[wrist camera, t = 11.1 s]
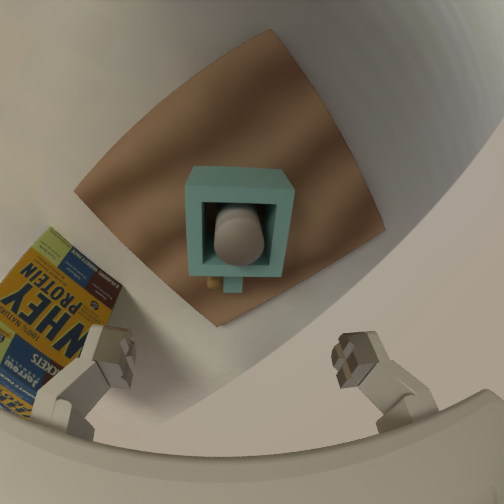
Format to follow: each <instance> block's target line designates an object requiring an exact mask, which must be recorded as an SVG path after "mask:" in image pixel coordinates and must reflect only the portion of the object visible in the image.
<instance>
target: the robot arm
mask: <svg viewBox="0 0 504 504" xmlns="http://www.w3.org/2000/svg"><path fill="white" fill-rule="evenodd" d="M131 338H132V333H131V330H130V329H123V328H116V327H110V326H104V325H97V324H93V325H92V326H91V327H90V330H89V332H88V335H87V338H86V341H85V344H84V346H83V349H82V352H81V355H80V358H75V359H74V360H73V361H72V362H71V363H69V364H68V365H67V366H66V367H65V368H64V369H62V370H61V371H60V372H59V373H58V374H56V375H55V376H54V377H53V378H52V379H51V380H50V381H48V382H47V383H46V384H45V385H44V386H43V387H41V388H40V389H39V390H38V391H37V395H36V398H35V401H34V405H33V408H32V412H31V415H30V419H29V420H27V419H25V418H23V417H20V416H18V415H16V414H14V413H12V412H9V411H7V410H5V409H3V408H1V407H0V504H504V400H502V399H501V398H500V397H499V396H498V395H496V394H495V393H494V392H492V391H490V390H488V389H483V390H481V391H479V392H477V393H475V394H474V395H472V396H470V397H468V398H466V399H464V400H462V401H460V402H458V403H457V404H454V405H452V406H450V407H448V408H446V409H444V410H441V411H439V410H438V407H437V405H436V403H435V400H434V398H433V396H432V394H431V392H430V389H429V388H428V387H427V386H425V385H424V384H423V383H422V382H420V381H419V380H418V379H416V378H415V377H414V376H413V375H411V374H410V373H409V372H407V371H406V370H405V369H404V368H402V367H401V366H400V365H398V364H397V363H396V362H394V361H393V360H389V357H388V355H387V353H386V351H385V349H384V347H383V345H382V343H381V341H380V339H379V337H378V334H377V333H376V332H375V331H367V332H354V333H343V334H342V335H340V337H339V343H338V344H337V345H335V346H334V348H333V350H332V355H331V358H332V363H333V367H334V368H336V369H337V370H338V373H337V375H336V376H337V379H338V382H339V385H340V388H348V387H356V386H358V388H359V389H360V390H361V391H362V392H363V393H364V394H365V395H366V396H367V397H368V398H369V399H370V400H371V401H372V403H373V404H374V405H375V406H376V407H377V408H378V409H379V410H380V411H381V412H382V413H383V414H384V415H383V416H382V417H381V418H380V419H379V420H377V422H376V426H377V429H378V432H379V434H377V435H373V436H370V437H366V438H363V439H359V440H355V441H351V442H346V443H342V444H338V445H333V446H328V447H323V448H317V449H311V450H305V451H298V452H291V453H283V454H273V455H261V456H242V457H199V456H182V455H169V454H160V453H152V452H145V451H138V450H132V449H126V448H121V447H116V446H111V445H107V444H102V443H98V442H94V441H93V437H94V430H95V429H94V428H93V426H92V425H91V424H90V423H89V422H88V421H87V420H86V419H85V416H86V415H87V414H88V413H89V412H90V411H91V409H92V408H93V407H94V406H95V405H96V404H97V402H98V401H99V400H100V399H101V398H102V397H103V395H104V394H105V393H106V392H107V391H108V390H109V388H110V387H117V388H124V389H130V387H131V381H132V376H133V374H132V372H131V368H132V367H133V366H134V365H135V359H136V348H135V343H134V342H133V341H132V340H131ZM109 386H110V387H109Z"/></svg>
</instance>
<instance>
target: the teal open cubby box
mask: <svg viewBox="0 0 504 504" xmlns="http://www.w3.org/2000/svg"><path fill="white" fill-rule="evenodd" d="M294 194H295V189H294V188H293V186H292V185H291V183H290V181H289V180H288V178H287V177H286V175H285V174H284V172H283V171H282V169H268V168H250V167H225V166H193V169H192V171H191V173H190V175H189V178H188V180H187V182H186V184H185V214H186V237H187V254H188V269H189V276H224V289H223V293H242V285H243V277H281V275H282V270H283V264H284V258H285V252H286V246H287V240H288V233H289V227H290V221H291V214H292V208H293V201H294ZM207 202H230V203H258V204H265V209H264V218H263V228H262V234H263V238H264V249H263V252H262V254H261V255H260V257H259V258H258V259H257V260H256V261H254V262H252V263H251V264H248V265H244V266H233V265H229V264H227V263H225V262H223V261H222V260H221V259H220V258H219V257H218V256H217V254H216V252H215V249H214V239H215V232H207V229H206V205H207Z"/></svg>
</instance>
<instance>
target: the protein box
mask: <svg viewBox="0 0 504 504" xmlns="http://www.w3.org/2000/svg"><path fill="white" fill-rule="evenodd" d="M121 288H122V285H121V284H120V283H118V282H117V281H115V280H114V279H113V278H111V277H110V276H109V275H107V274H106V273H105V272H104V271H102V270H101V269H100V268H98V267H97V266H96V265H95V264H94V263H92V262H91V261H90V260H89V259H87V258H86V257H85V256H84V255H83V254H81V253H80V252H79V251H78V250H77V249H75V248H74V247H73V246H72V245H71V244H69V243H68V242H67V241H66V240H65V239H64V238H63V237H61V236H60V235H59V234H58V233H57V232H56V231H55V230H54V229H53V228H51V227H49V228H48V229H47V230H46V231H45V232H44V233H43V234H42V235H41V236H40V237H39V238H38V240H37V241H36V242H35V243H34V244H33V245H32V246H31V247H30V248H29V249H28V251H27V252H26V253H25V254H24V255H23V256H22V257H21V259H20V260H19V261H18V262H17V263H16V265H15V266H14V267H13V268H12V269H11V271H10V272H9V273H8V274H7V276H6V277H5V278H4V280H3V281H2V282H1V284H0V406H1V407H2V408H3V409H5V410H7V411H9V412H12V413H14V414H16V415H18V416H20V417H23V418H25V419H27V420H29V419H30V415H31V412H32V408H33V405H34V401H35V398H36V395H37V391H38V390H39V389H40V388H41V387H43V386H44V385H45V384H46V383H47V382H48V381H50V380H51V379H52V378H53V377H54V376H55V375H56V374H58V373H59V372H60V371H61V370H62V369H64V368H65V367H66V366H67V365H68V364H69V363H71V362H72V361H73V360H74V359H75V358H80V355H81V352H82V349H83V346H84V344H85V341H86V338H87V335H88V332H89V330H90V327H91V326H92V325H93V324H97V325H104V326H107V324H108V322H109V319H110V316H111V314H112V311H113V308H114V305H115V303H116V300H117V298H118V296H119V293H120V291H121Z"/></svg>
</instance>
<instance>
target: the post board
mask: <svg viewBox="0 0 504 504" xmlns="http://www.w3.org/2000/svg"><path fill="white" fill-rule="evenodd" d="M193 166H225V167H250V168H268V169H282V171H283V172H284V174H285V175H286V177H287V178H288V180H289V181H290V183H291V185H292V186H293V188H294V189H295V194H294V201H293V208H292V214H291V221H290V227H289V233H288V240H287V246H286V252H285V258H284V264H283V270H282V275H281V277H243V285H242V293H223V289H224V276H189V269H188V254H187V237H186V214H185V184H186V182H187V180H188V178H189V175H190V173H191V171H192V169H193ZM74 192H75V193H76V194H77V195H78V196H79V198H80V199H81V200H82V201H83V202H84V203H85V204H86V205H87V206H88V207H89V208H90V210H91V211H92V212H93V213H94V214H95V215H96V216H97V217H98V218H99V219H100V220H101V221H102V222H103V223H104V224H105V225H106V226H107V227H108V228H109V229H110V230H111V231H112V232H113V233H114V235H115V236H116V237H117V238H118V239H119V240H120V241H121V242H122V243H123V244H125V245H126V246H127V247H128V248H129V249H130V250H131V251H132V252H133V253H134V254H135V255H136V256H137V257H138V258H139V259H140V260H141V261H142V262H143V263H144V264H145V265H146V266H147V267H148V268H150V269H151V270H152V271H153V272H154V273H155V274H156V275H157V276H158V277H159V278H160V279H161V280H163V281H164V282H165V283H166V284H167V285H168V286H169V287H170V288H171V289H173V290H174V291H175V292H176V293H177V294H178V295H179V296H181V297H182V298H183V299H184V300H185V301H186V302H187V303H189V304H190V305H191V306H192V307H193V308H195V309H196V310H197V311H198V312H199V313H200V314H202V315H203V316H204V317H205V318H206V319H208V320H209V321H210V322H211V323H213V324H214V325H215V326H216V327H219V326H221V325H223V324H225V323H227V322H228V321H230V320H232V319H234V318H236V317H238V316H240V315H242V314H243V313H245V312H247V311H249V310H251V309H253V308H255V307H256V306H258V305H260V304H262V303H264V302H266V301H267V300H269V299H271V298H273V297H275V296H276V295H278V294H280V293H282V292H283V291H285V290H287V289H289V288H290V287H292V286H294V285H296V284H297V283H299V282H301V281H303V280H304V279H306V278H308V277H310V276H311V275H313V274H315V273H316V272H318V271H320V270H321V269H323V268H325V267H326V266H328V265H330V264H331V263H333V262H335V261H336V260H338V259H340V258H341V257H343V256H345V255H346V254H348V253H349V252H351V251H353V250H354V249H356V248H358V247H359V246H361V245H362V244H364V243H366V242H367V241H369V240H370V239H372V238H373V237H375V236H377V235H378V234H380V233H381V232H383V231H384V230H386V229H385V226H384V224H383V221H382V219H381V217H380V214H379V212H378V209H377V207H376V205H375V202H374V200H373V198H372V195H371V193H370V191H369V189H368V187H367V184H366V182H365V180H364V178H363V176H362V174H361V172H360V170H359V167H358V165H357V163H356V161H355V159H354V157H353V156H352V154H351V152H350V150H349V148H348V146H347V144H346V142H345V140H344V138H343V137H342V135H341V133H340V131H339V129H338V128H337V126H336V124H335V122H334V121H333V119H332V117H331V115H330V114H329V112H328V110H327V109H326V107H325V105H324V104H323V102H322V100H321V99H320V97H319V96H318V94H317V92H316V91H315V89H314V88H313V86H312V85H311V83H310V82H309V80H308V79H307V77H306V76H305V74H304V73H303V71H302V70H301V68H300V67H299V66H298V64H297V63H296V61H295V60H294V58H293V57H292V56H291V54H290V53H289V52H288V50H287V49H286V48H285V46H284V45H283V44H282V42H281V41H280V40H279V38H278V37H277V36H276V35H275V33H274V32H273V31H272V30H271V29H269V30H267V31H265V32H263V33H261V34H260V35H258V36H256V37H254V38H252V39H251V40H249V41H247V42H245V43H244V44H242V45H240V46H239V47H237V48H235V49H234V50H232V51H230V52H229V53H227V54H226V55H224V56H223V57H221V58H219V59H218V60H216V61H215V62H213V63H212V64H210V65H209V66H208V67H206V68H205V69H203V70H202V71H200V72H199V73H198V74H196V75H195V76H193V77H192V78H191V79H189V80H188V81H187V82H185V83H184V84H183V85H181V86H180V87H179V88H178V89H176V90H175V91H174V92H173V93H171V94H170V95H169V96H168V97H166V98H165V99H164V100H163V101H161V102H160V103H159V104H158V105H157V106H156V107H154V108H153V109H152V110H151V111H150V112H149V113H148V114H146V115H145V116H144V117H143V118H142V119H141V120H140V121H139V122H138V123H137V124H135V125H134V126H133V127H132V128H131V129H130V130H129V131H128V132H127V133H126V134H125V135H124V136H123V137H122V138H121V139H120V140H119V141H118V142H117V143H116V144H115V145H114V146H113V147H112V148H111V149H110V150H109V151H108V152H107V153H106V154H105V155H104V157H103V158H102V159H101V160H100V161H99V162H98V163H97V164H96V165H95V166H94V168H93V169H92V170H91V171H90V172H89V173H88V174H87V176H86V177H85V178H84V179H83V180H82V181H81V183H80V184H79V185H78V186H77V188H76V189H75V190H74ZM264 209H265V204H258V203H230V202H207V205H206V229H207V232H215V239H214V249H215V252H216V254H217V256H218V257H219V258H220V259H221V260H222V261H223V262H225V263H227V264H229V265H233V266H244V265H248V264H251V263H252V262H254V261H256V260H257V259H258V258H259V257H260V255H261V254H262V252H263V249H264V238H263V234H262V228H263V218H264Z"/></svg>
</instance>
